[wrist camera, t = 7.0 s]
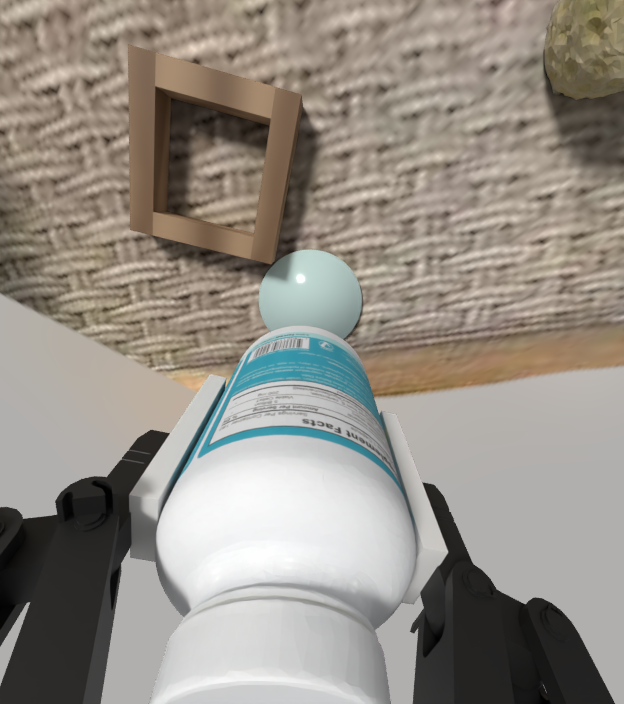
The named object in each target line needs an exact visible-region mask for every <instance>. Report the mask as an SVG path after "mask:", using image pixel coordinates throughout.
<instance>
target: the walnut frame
mask: <svg viewBox="0 0 624 704" xmlns="http://www.w3.org/2000/svg"><path fill="white" fill-rule="evenodd" d="M128 78H129V160H130V230H133V231H137V232H141V233H145V234H149V235H153V236H157V237H161V238H165V239H169V240H173V241H178V242H182V243H186V244H190V245H194V246H198V247H202V248H206V249H210V250H214V251H218V252H223V253H227V254H231V255H235V256H239V257H243V258H247V259H251V260H255V261H259V262H263V263H268V264H272V263H273V262H274V261H275V259H276V253H277V247H278V242H279V236H280V231H281V225H282V220H283V214H284V209H285V203H286V198H287V192H288V186H289V181H290V175H291V170H292V164H293V159H294V153H295V148H296V142H297V137H298V131H299V125H300V120H301V114H302V109H303V103H302V96H301V94H297V93H294V92H290V91H287V90H284V89H280V88H277V87H273V86H270V85H266V84H263V83H259V82H256V81H252V80H249V79H246V78H242V77H239V76H235V75H232V74H228V73H225V72H221V71H218V70H214V69H211V68H208V67H204V66H201V65H197V64H194V63H190V62H187V61H183V60H180V59H177V58H173V57H170V56H166V55H163V54H159V53H156V52H152V51H149V50H145V49H142V48H139V47H135V46H132V45H128ZM171 98H172V99H176V100H180V101H183V102H187V103H190V104H194V105H197V106H201V107H205V108H208V109H212V110H215V111H219V112H223V113H226V114H230V115H233V116H237V117H240V118H244V119H248V120H251V121H255V122H258V123H262V124H265V125H269V126H270V128H269V135H268V142H267V149H266V156H265V162H264V169H263V176H262V183H261V190H260V196H259V203H258V210H257V217H256V224H255V230H254V233H250V232H246V231H242V230H238V229H234V228H230V227H226V226H222V225H218V224H214V223H210V222H206V221H202V220H198V219H194V218H190V217H186V216H182V215H178V214H174V213H170V212H167V206H168V177H169V148H170V119H171Z"/></svg>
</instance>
